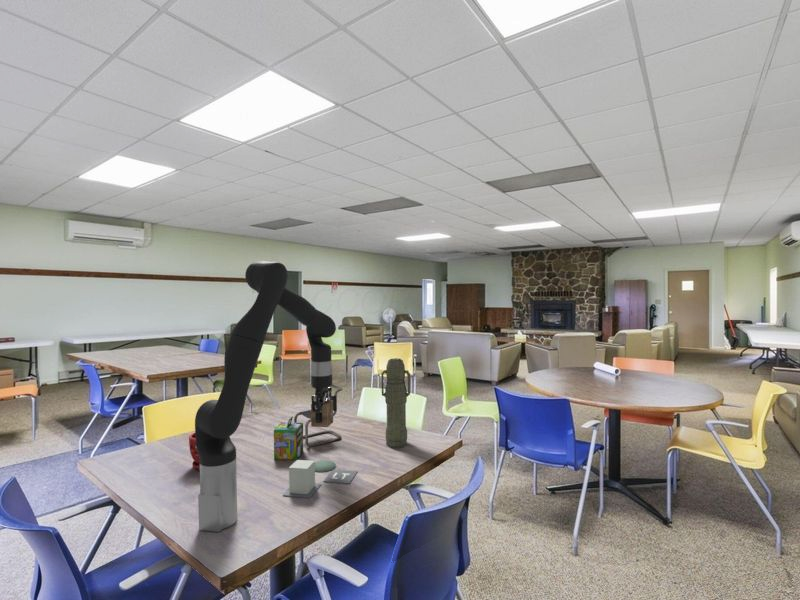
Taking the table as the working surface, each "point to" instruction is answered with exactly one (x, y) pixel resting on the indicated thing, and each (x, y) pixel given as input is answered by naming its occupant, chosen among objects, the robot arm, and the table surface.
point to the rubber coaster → (324, 466)
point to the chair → (308, 415)
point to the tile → (340, 476)
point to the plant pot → (194, 451)
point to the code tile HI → (303, 494)
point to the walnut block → (323, 415)
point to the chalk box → (288, 440)
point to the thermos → (396, 403)
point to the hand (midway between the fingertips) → (322, 419)
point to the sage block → (301, 476)
